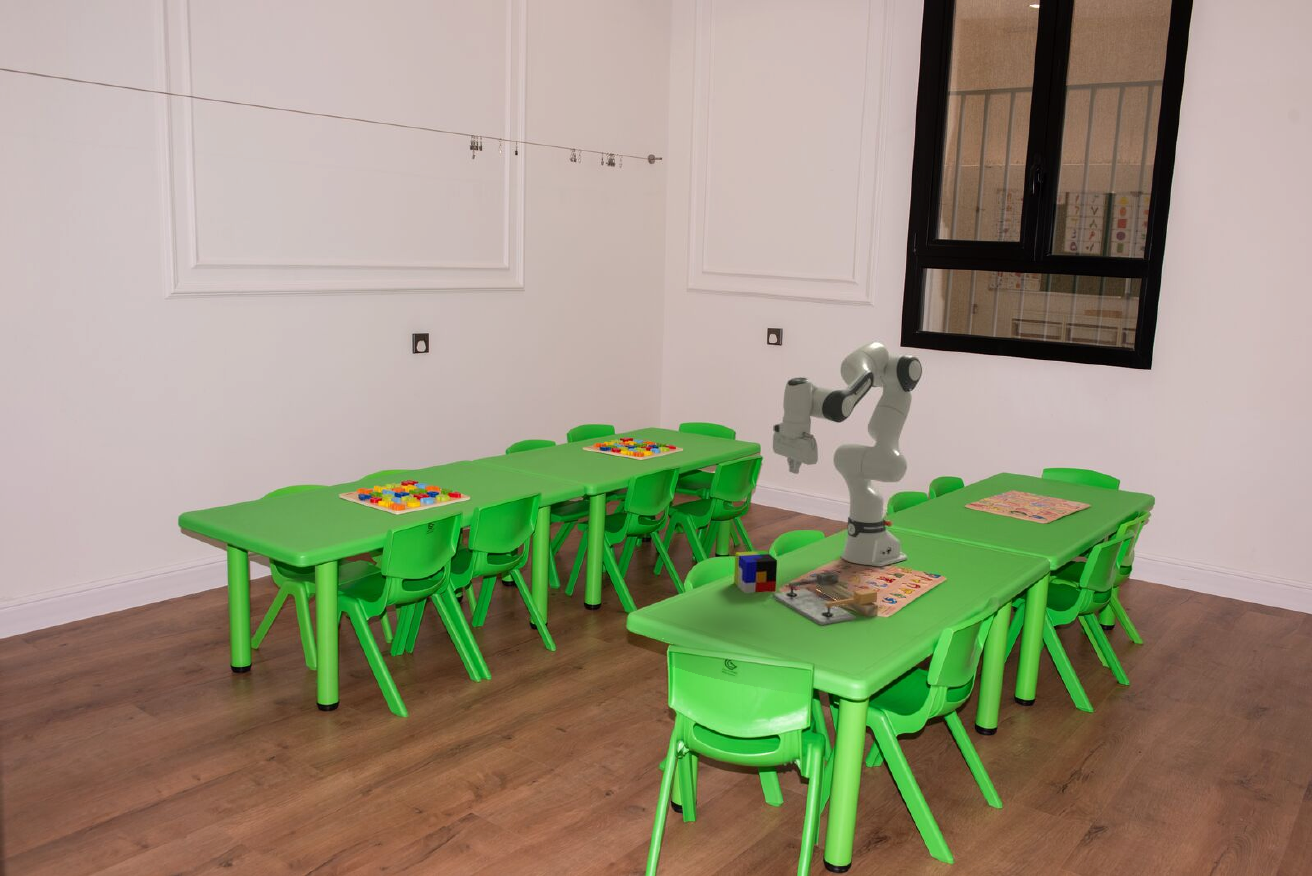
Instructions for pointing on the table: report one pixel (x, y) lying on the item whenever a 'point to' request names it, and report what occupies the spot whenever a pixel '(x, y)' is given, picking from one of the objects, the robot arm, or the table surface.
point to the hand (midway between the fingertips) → (793, 472)
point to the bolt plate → (813, 607)
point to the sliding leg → (856, 599)
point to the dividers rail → (837, 592)
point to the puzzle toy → (755, 572)
